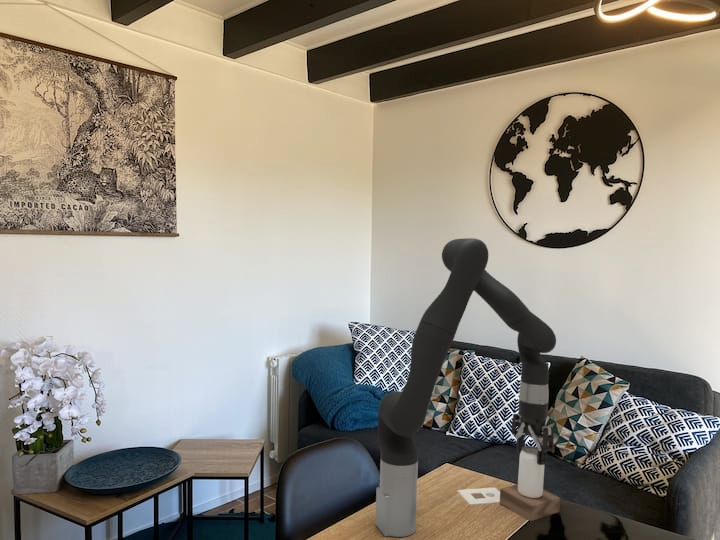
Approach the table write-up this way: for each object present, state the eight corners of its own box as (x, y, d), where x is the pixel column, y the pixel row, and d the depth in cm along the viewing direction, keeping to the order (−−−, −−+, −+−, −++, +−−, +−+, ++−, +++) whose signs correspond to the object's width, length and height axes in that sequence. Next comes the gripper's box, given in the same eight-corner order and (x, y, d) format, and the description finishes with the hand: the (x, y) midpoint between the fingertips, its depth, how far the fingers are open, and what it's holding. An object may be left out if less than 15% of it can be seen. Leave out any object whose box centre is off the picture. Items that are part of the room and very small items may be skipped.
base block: (530, 521, 140) (531, 506, 140) (499, 503, 149) (500, 488, 149) (559, 512, 145) (560, 497, 145) (527, 495, 155) (528, 481, 155)
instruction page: (470, 505, 148) (470, 504, 148) (456, 490, 157) (456, 490, 157) (510, 501, 151) (510, 500, 151) (495, 488, 159) (495, 487, 159)
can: (544, 500, 143) (547, 455, 143) (518, 497, 144) (521, 453, 144) (540, 489, 150) (543, 446, 149) (516, 486, 151) (518, 444, 150)
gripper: (505, 393, 152) (503, 450, 152) (539, 406, 139) (536, 469, 139) (527, 391, 155) (525, 448, 155) (563, 405, 141) (560, 467, 142)
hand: (530, 458), depth 147 cm, fingers open, 8 cm apart
